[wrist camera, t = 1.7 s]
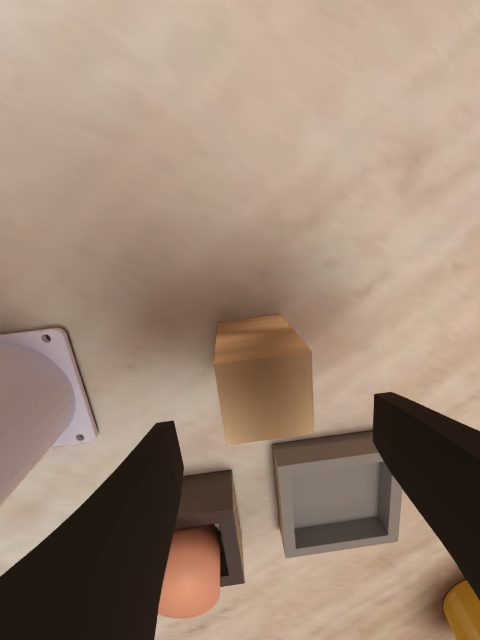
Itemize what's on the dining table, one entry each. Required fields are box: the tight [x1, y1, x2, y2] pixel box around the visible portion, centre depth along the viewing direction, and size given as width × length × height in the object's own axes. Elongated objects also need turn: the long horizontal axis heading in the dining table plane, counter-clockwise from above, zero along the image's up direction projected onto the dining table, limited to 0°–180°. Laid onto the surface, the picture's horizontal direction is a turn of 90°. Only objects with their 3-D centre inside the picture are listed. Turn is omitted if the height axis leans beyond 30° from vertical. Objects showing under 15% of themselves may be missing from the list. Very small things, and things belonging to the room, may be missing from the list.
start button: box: [158, 524, 220, 619], centre depth 17 cm, size 4×4×3 cm
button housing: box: [174, 470, 245, 587], centre depth 19 cm, size 7×7×3 cm
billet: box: [214, 315, 315, 445], centre depth 14 cm, size 4×4×6 cm
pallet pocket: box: [272, 431, 402, 558], centre depth 19 cm, size 9×9×2 cm
